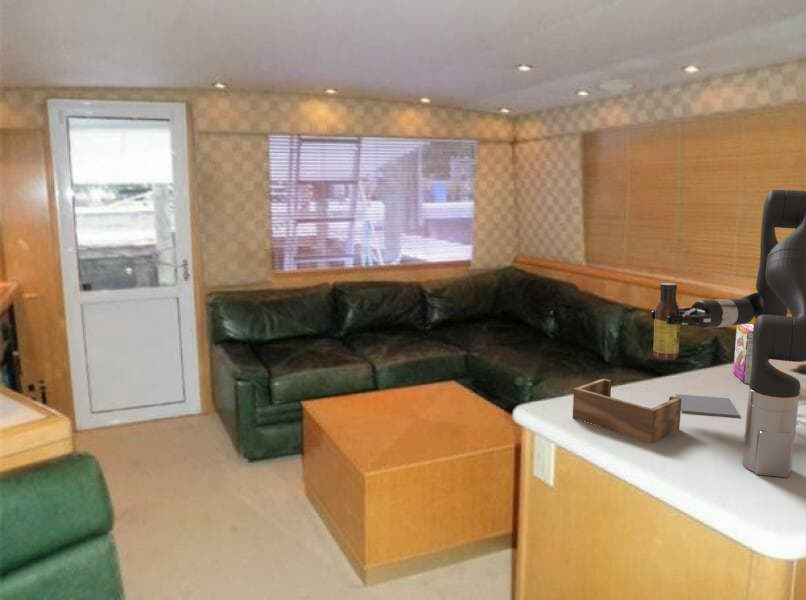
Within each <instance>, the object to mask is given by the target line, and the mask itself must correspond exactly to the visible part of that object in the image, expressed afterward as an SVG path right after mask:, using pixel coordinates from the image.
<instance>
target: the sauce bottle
mask: <svg viewBox="0 0 806 600" xmlns="http://www.w3.org/2000/svg"><path fill="white" fill-rule="evenodd" d="M659 288H660V297H659V300H660V301H659V302H658V304H657V305H656V307H655V310H654V311H655V319H654V323H653V325H654V326H653V327H654V328H653V329H654V330H653V331H654V332H653V350H652V351H653V357H654V358H655V359H658V360H664V361H673V360H676V359H678V357H679V350H680V334H681V333H680V331H681V324H667V316H671V315H680V312H679V308H680V307H679V308H678V306H679V305H678V302H677V289H678V284H677V283H674V282H663V283H662V282H661V283H660V285H659Z"/></svg>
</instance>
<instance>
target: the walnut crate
mask: <svg viewBox="0 0 806 600" xmlns="http://www.w3.org/2000/svg"><path fill="white" fill-rule="evenodd" d="M611 392H612V380H611V379H608V378H603V377H602V378H600V379H598V380H595V381H592V382H589V383H587V384H583V385H581V386H578V387H575V388H573V399H572V400H573V401H572V419H574V418H575V420H577V419H579V421H580V420H582V422H584V421H586V422H585V423H587V422H589V423H588V424H590V423H592V424H591V425H593V424H595V425H594V426H596V425H597V427H599V426H600V427H599V428H602V427H603V429H605V428H607V429H606V430H608V429H610V430H609V431H611V430H613V431H612V432H614V431H616V432H615V433H617V432H619V433H618V434H621V433H622V434H621V435H624V436H627V437H630V438H633V439H636V440H639V441H643V442H646V443H648V444H653V443H655V442H657V441H659V440H660V439H661V440H662V438H664V437H667V436H669V435H670V434H672V433H675V432H676V431H679V430H680V423H681V413H682V412H681V398H677V397H675V396H673V395H670V396H669V398H668V400H667V401H665V402H663V403H661V404H658V405H657V406H653V407H652V408H650V407H647V406H642V405H641V404H640V405H639V404H637V403H632V402H628V401H627V400H622V399H618V398H615V397H612V396H611V395H612V394H611Z"/></svg>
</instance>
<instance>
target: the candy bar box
mask: <svg viewBox="0 0 806 600" xmlns="http://www.w3.org/2000/svg"><path fill="white" fill-rule="evenodd" d="M753 328H754V324H752V323H746V324H741V325H736V330H735V331H736V332H735V344H734V345H735V347H734V348H735V349H734V358H733V359H734V360H733V371H732V374H734V375H735V376H736V377H737V379H739V381H741V382H742V383H743V384H746V385H747V384H748V385H750V376H751V367H752V342H753Z"/></svg>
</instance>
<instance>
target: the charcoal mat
mask: <svg viewBox="0 0 806 600" xmlns="http://www.w3.org/2000/svg"><path fill="white" fill-rule="evenodd" d="M674 395H675V396H676V397H677V398H681V413H682V414H691V413H694V414H693V415H702V416H703V415H706V416H716V417H728V418H729V417H730V418H738V419H739V418H741V415H740V413H739V412H738V410H737V409H736V407H735V404H733V402H732V400H731V399H730V398H729V397H720V396H717V397H716V396H707V395H705V396H704V395H694V394H693V395H692V394H682V393H681V394H679V393H677V394H676V393H675V394H674ZM675 396H674V397H675Z"/></svg>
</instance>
